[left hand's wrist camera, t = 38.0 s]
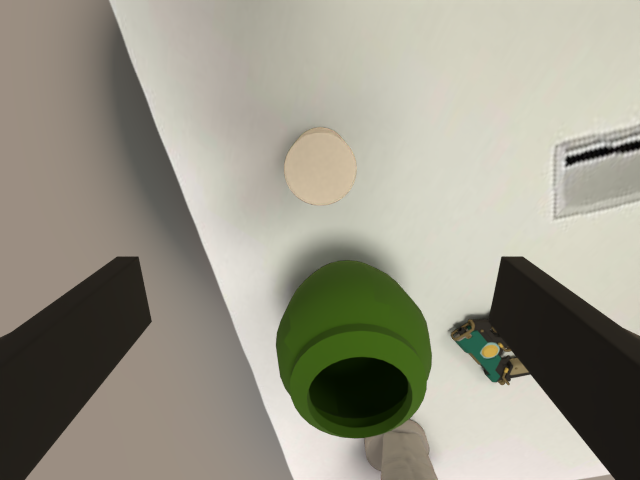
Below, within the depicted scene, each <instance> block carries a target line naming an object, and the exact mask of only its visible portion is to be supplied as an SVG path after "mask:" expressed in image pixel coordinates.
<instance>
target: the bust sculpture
mask: <svg viewBox="0 0 640 480" xmlns="http://www.w3.org/2000/svg"><path fill="white" fill-rule="evenodd" d="M365 450H366V457H367V460H368V462H369V463H370V464H371V465H372V466H373V467H374V468H375V469H377V470H379V471H381V480H438V479H437V476H436V474H435V472H434V469H433V466H432V463H431V461H430V459H429V456H428V454H429V445H428V441H427V438H426V435H425V432H424V430H423V429H422V428H421V426H420V425H418V424H417V423H415V422H414V421H411V420H409V419H408V420H407V421H406V422H405V423H403V424H402V425H401V426H399V427H397V428H395V429H393V430H392V431H389V432H386V433H384V434H381V435H377V436H372V437H368V438H365Z"/></svg>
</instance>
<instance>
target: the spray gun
mask: <svg viewBox="0 0 640 480" xmlns="http://www.w3.org/2000/svg"><path fill="white" fill-rule="evenodd" d="M488 321H489V320H488V319H473V320H472V319H469V320H468V323H466V324H465V325H463V326H461V327H460V328H458V329H456V330H455V331H453V332H452V333H451V337H452V339H453V340H454V341H455V342H456V343H457V344H458V345H459V346H460V347H461V348H462V349H463V350H464V351H465V352H466V353H469V354H470V356H471V357H472V358H473V359H474V360H475V361H476V362H477V363H478V364H480V365H481V366H482V367H483V368H484V369H485V370H484V372H485V375H486V376H487V377H488V378H489V379H490V380H491V381H492V382H499V383H500V384H501V385H504V384H505V382H506V383H507V385H510V383H509V382H508V381H510V380H511V379H510V378H514V377H520V376H525V375H530V373H529V372H528V370H527V369H526V368H525V367H524V365H523V364H522V363H521V362H520V360H519V359H518V358H513V359H509V358H510V356H509V355H507V357H505V358H501V357H500V354H501V353H502V352H503V350H504V351H506V352H510V351H512V350H511V349H510V348H509V347H508V346H507V344H506V343H505V342H504V341H503V339H502V338H501V337H500V336H499V334H495V333H492V332H491V330H490V329H491V328H492V330H493V331H494V332H496V331H495V329H494V328H493V327H492V326H491V324H490V323H489V322H488ZM468 325H470V326H468ZM466 326H467V329H466ZM471 326H472V327H471ZM457 332H458V334H457V335H455V338H454V337H453V335H454V334H455V333H457ZM505 348H507V349H505Z"/></svg>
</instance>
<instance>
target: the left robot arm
mask: <svg viewBox="0 0 640 480" xmlns="http://www.w3.org/2000/svg"><path fill="white" fill-rule="evenodd" d="M151 322H152V321H151V316H150V311H149V306H148V301H147V296H146V291H145V287H144V282H143V277H142V272H141V267H140V262H139V257H116V258H115V259H113V260H112V261H110V262H109V263H108V264H106V265H105V266H103V267H102V268H101V269H99V270H98V271H96V272H95V273H94V274H92V275H91V276H89V277H88V278H87V279H85V280H84V281H82V282H81V283H80V284H78V285H77V286H75V287H74V288H73V289H71V290H70V291H68V292H67V293H66V294H64V295H63V296H61V297H60V298H59V299H57V300H56V301H54V302H53V303H52V304H50V305H49V306H47V307H46V308H44V309H43V310H42V311H40V312H39V313H38V314H36V315H35V316H33V317H32V318H31V319H29V320H28V321H26V322H25V323H24V324H22V325H21V326H19V327H18V328H16V329H15V330H14V331H12V332H11V333H9V334H7V335H5V336H2V337H0V480H25V479H26V477H27V476H28V475H29V474H30V472H31V471H32V470H33V469H34V468H35V466H36V465H37V464H38V463H39V461H40V460H41V459H42V458H43V456H44V455H45V454H46V453H47V451H48V450H49V449H50V448H51V446H52V445H53V444H54V443H55V441H56V440H57V439H58V438H59V436H60V435H61V434H62V433H63V431H64V430H65V429H66V428H67V426H68V425H69V424H70V423H71V421H72V420H73V419H74V418H75V416H76V415H77V414H78V413H79V412H80V410H81V409H82V408H83V407H84V405H85V404H86V403H87V402H88V400H89V399H90V398H91V397H92V395H93V394H94V393H95V392H96V390H97V389H98V388H99V387H100V385H101V384H102V383H103V382H104V380H105V379H106V378H107V377H108V375H109V374H110V373H111V372H112V370H113V369H114V368H115V367H116V365H117V364H118V363H119V362H120V360H121V359H122V358H123V357H124V355H125V354H126V353H127V352H128V350H129V349H130V348H131V347H132V346H133V344H134V343H135V342H136V341H137V339H138V338H139V337H140V336H141V334H142V333H143V332H144V331H145V329H146V328H147V327H148V326H149V324H150V323H151ZM488 322H489V323H490V324H491V326H492V327H493V328H494V329H495V331H496V332H497V333H498V334H499V336H500V337H501V338H502V339H503V341H504V342H505V343H506V344H507V346H508V347H509V348H510V349H511V350H512V352H513V353H514V354H515V355H516V357H517V358H518V359H519V360H520V362H521V363H522V364H523V365H524V367H525V368H526V369H527V370H528V372H529V373H530V374H531V375H532V377H533V378H534V379H535V380H536V382H537V383H538V384H539V385H540V387H541V388H542V389H543V390H544V392H545V393H546V394H547V395H548V397H549V398H550V399H551V400H552V402H553V403H554V404H555V405H556V407H557V408H558V409H559V410H560V412H561V413H562V414H563V415H564V416H565V418H566V419H567V420H568V421H569V423H570V424H571V425H572V426H573V428H574V429H575V430H576V431H577V433H578V434H579V435H580V436H581V438H582V439H583V440H584V441H585V443H586V444H587V445H588V446H589V448H590V449H591V450H592V451H593V453H594V454H595V455H596V456H597V458H598V459H599V460H600V461H601V463H602V464H603V465H604V466H605V468H606V469H607V470H608V471H609V473H610V474H611V475H612V476H613V477H614V479H615V480H640V336H639V335H637V334H634V333H632V332H630V331H628V330H626V329H624V328H622V327H621V326H619V325H618V324H617V323H615V322H614V321H612V320H611V319H610V318H608V317H607V316H605V315H604V314H603V313H601V312H600V311H598V310H597V309H595V308H594V307H593V306H591V305H590V304H588V303H587V302H586V301H584V300H583V299H581V298H580V297H579V296H577V295H576V294H574V293H573V292H572V291H570V290H569V289H567V288H566V287H565V286H563V285H562V284H560V283H559V282H558V281H556V280H555V279H553V278H552V277H551V276H549V275H548V274H546V273H545V272H544V271H542V270H541V269H539V268H538V267H537V266H535V265H534V264H532V263H531V262H530V261H528V260H527V259H525V258H524V257H501V262H500V267H499V272H498V277H497V281H496V286H495V291H494V296H493V301H492V306H491V311H490V316H489V321H488Z"/></svg>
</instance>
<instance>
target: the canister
mask: <svg viewBox="0 0 640 480" xmlns="http://www.w3.org/2000/svg"><path fill="white" fill-rule="evenodd" d="M356 171H357V168H356V160H355V157H354V154H353V152H352V150H351V149H350V147H349V146H348V145H347V144H346V142H345V141H344V140H343V139H342V138H341V136H340V135H339V134H337V133H336V132H335V131H333V130H331V129H328V128H322V127H318V128H313V129H310V130H308V131H306V132H304V133H303V134H302V135H301V136H300V137H299V138H298V139H297V141H296V142H295V143H294V144H293V146H292V147H291V148H290V150H289V151H288V154H287V156H286V159H285V164H284V175H285V179H286V182H287V184H288V186H289V188H290V190H291V191H292V192H293V193H294V195H295V196H297V197H298V198H299V199H301V200H302V201H304V202H306V203H309V204H312V205H329V204H332V203H335V202H337V201H339V200H340V199H342V198H343V197H344V196H345V195H346V194H347V193H348V192H349V191H350V189H351V187H352V186H353V184H354V181H355V177H356Z"/></svg>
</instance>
